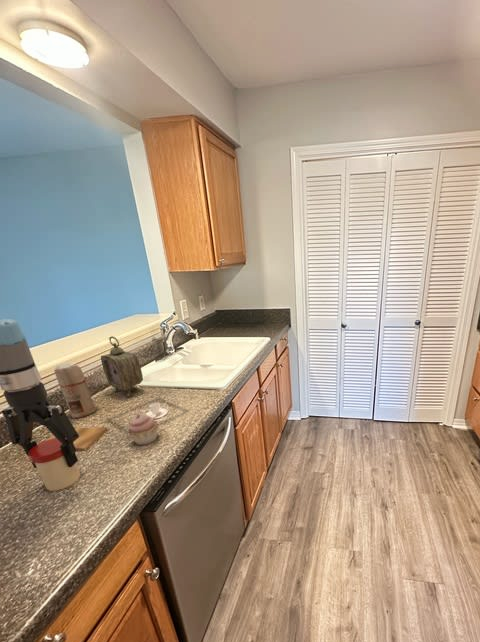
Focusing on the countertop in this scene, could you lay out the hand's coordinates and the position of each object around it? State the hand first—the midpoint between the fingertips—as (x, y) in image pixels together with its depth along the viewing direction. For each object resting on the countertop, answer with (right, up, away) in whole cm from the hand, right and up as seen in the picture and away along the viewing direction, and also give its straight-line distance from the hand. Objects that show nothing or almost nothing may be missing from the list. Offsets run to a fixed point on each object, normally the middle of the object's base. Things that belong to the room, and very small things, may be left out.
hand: (56, 464), depth 85 cm
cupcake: (+15, +3, +19) cm, 24 cm away
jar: (0, -5, +2) cm, 6 cm away
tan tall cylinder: (-19, +10, +39) cm, 44 cm away
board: (-10, +3, +21) cm, 24 cm away
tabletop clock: (-10, +17, +56) cm, 59 cm away
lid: (0, +5, -2) cm, 5 cm away
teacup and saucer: (+8, +9, +34) cm, 36 cm away
